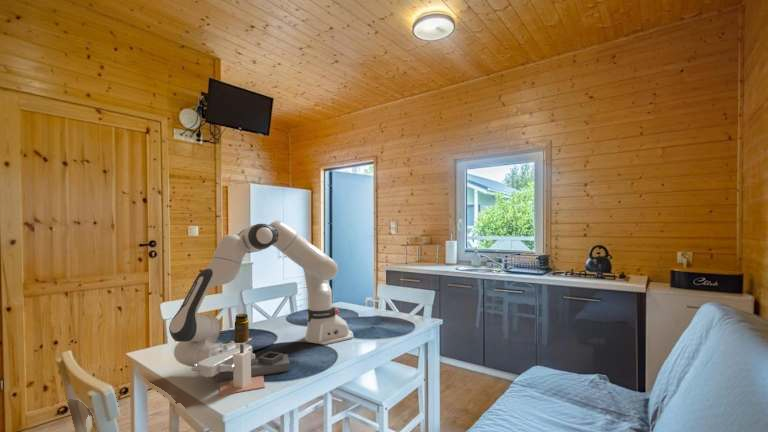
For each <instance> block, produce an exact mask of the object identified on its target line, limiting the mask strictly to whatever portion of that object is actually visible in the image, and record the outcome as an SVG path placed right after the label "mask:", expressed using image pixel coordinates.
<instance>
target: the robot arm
mask: <svg viewBox="0 0 768 432" xmlns="http://www.w3.org/2000/svg"><path fill="white" fill-rule="evenodd" d="M271 246H273V247H275V248H276V249H277V250H278V251H279V252H281V253H282V254H283V255H284V256H286V257H287V258H288V259H290V260H291V261H292V262H294V263H295V264H296V265H298V266H299V267H301V268H302V270H303V273H304V278H305V279H304V280H305V285H306V289H307V309H306V320H307V325H306V326H307V328H306V333H305V336H304V340H305V341H306V342H307V343H313V344H319V345H323V346H324V345H328V344H335V343H338V342H343V341H347V340H352V339H353V338H354V333H353V331H352V330H351V329H349V325H348V323H347V321H346V320H345V319H344V318H342V317H341V316H339V315H338V314H339V313H340V311H339V309H338V308H336V307H334V306H333V298H332V297H333V295H332V293H333V292H332V291H333V290H332V288H331V286H330V282H329V281H331V280H333V279H334V278H335V277H337V275H338V272H339V266H338V263H337V262H336V261H335V260H334V259H333V258H332V257H330V256H329V255H328V254H326V253H325V252H324V251H322V250H321V249H319V248H318V247H316V246H315V245H314V244H312V243H311V242H310V241H308V240H307V239H306V238H305V237H304V236H303V235H301V234H300V233H299V232H297V231H296V230H295V229H293V228H292V227H291V225H290V226H289V225H288V224H286V223H285V222H282V221H280V220H274V221H272V222H271V223H270V224H266V223H256V224H253V225H250V226H248V227H246V228H245V229H242V230H241V231H240V232H239V233H238V234H234V233H233V234H231V233H229V234H225V235H223V237H221V239H220V241H219V242H218V244H217V246H216V248H215V250H214V251H213V252H214V253H213V255H212V258H211V260H210V262H209V264H208V265H207V266H206V268H205V269H202V270H201V271H200V272H199V273H198V274H197V276H196V277H195V279H194V281H193V283H192V284H191V286H190V288H189V290H188V292H187V295H186V296H185V298H184V300H183V302H182V303H181V305H180V307H179V309H178V311H177V312H176V314H175V315H174V316H173V318H172V319H171V321H170V323H169V326H168V330H169V334H170V336H171V338H172V339H173V341H175V342H178V343H177V344H176V345H175V346H174V347H175V348H174V350H173V354H174V355H173V356H174V358H175V360H176V362H178V363H179V364H182V365H184V366H186V367H191V369H190V370H191V371H193V372H196V373H197V374H198V375H199V376H202V377H206V378H210V377H211V378H212V377H215V376H216V374H218V373H220V372H225V371H231V372H232V371H233V370H235V365H234V364H233V354H234V353H236V352H238V351H240V344H244V343H234V340H228V341H222V342H218V340H219V337H220V334H221V330H222V324H221V321H220V320H219V318H217V317H215V316H210V315H206V314H200V313H198V312H199V309H200V307H201V305H202V303H203V301H204V299H205V298H206V295H207V293H208V292H209V290H211V289H212V288H214V287H216V286H222V285H226V284H229V283H231V282H233V281H234V280H235V279H236V278H237V276H238V275H239V272H240V270H241V266H242V263H243V260H244V259H243V258H244V257H245V255H246V254H249V253H250V254H251V253H256V252H261V251H263V250H266V249H268V248H270V247H271ZM253 348H254V347H253V346H252V345H251V344H247V343H245V344H244V350H246V351H251V360H254V359H256V354H255V353H254V352H253V351H254V349H253Z"/></svg>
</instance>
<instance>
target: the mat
mask: <svg viewBox="0 0 768 432" xmlns="http://www.w3.org/2000/svg"><path fill="white" fill-rule="evenodd" d="M264 378H265V377H264V375H260V376H254V377H251V383H250V384H249V385H247V386H245V387H244V388H240V387H235V386H234V384H233V380H229V381H223V382H220V388H219V395H218V396H219V397H221V396H225V395H231V394H239V393H243V392H249V391H254V390H260V389H265V388H266V385H265V379H264Z"/></svg>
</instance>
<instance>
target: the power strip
mask: <svg viewBox="0 0 768 432" xmlns="http://www.w3.org/2000/svg"><path fill="white" fill-rule="evenodd" d="M289 371H291V361H290V359H289V356H288V353H281V352H276V351H271V350H270V351H268V352H265V353H264V354H262V355H260V356H259V357H257V358H256V357H255V359H254V360H251V377H258V376H264V375H265V376H266V375H270V374H271V375H272V374H278V373H283V372H289ZM215 376H216V377H215V378H216V383H221V382H227V381H233V371H232V372H231V371H225V372H220V373H218V374H216V375H215Z"/></svg>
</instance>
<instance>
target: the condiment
mask: <svg viewBox="0 0 768 432" xmlns="http://www.w3.org/2000/svg"><path fill="white" fill-rule="evenodd" d="M249 322H250V321H249V319H248V314H247V313H239V314H236V315H235V320H234V340H233V341H234V343H244V344H247V343H249V342H250V341H251V340H252V339H253V337H252V338H250V337H249V336H250V335H249V333H250V332H249V329H250V328H249V327H250V325H249Z"/></svg>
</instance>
